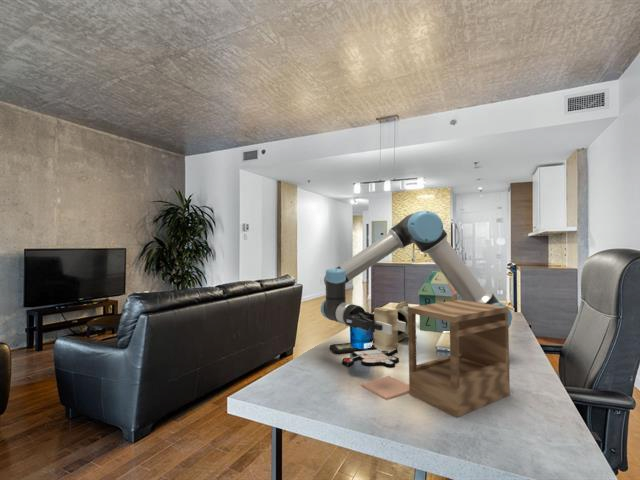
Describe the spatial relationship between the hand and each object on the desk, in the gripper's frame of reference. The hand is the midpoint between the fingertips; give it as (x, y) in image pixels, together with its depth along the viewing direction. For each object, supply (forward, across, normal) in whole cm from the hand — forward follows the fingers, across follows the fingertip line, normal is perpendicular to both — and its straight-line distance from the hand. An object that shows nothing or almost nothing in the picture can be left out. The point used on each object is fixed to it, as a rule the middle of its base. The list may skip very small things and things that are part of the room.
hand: (398, 328), depth 102 cm
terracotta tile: (-5, 0, -19) cm, 20 cm away
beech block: (-5, 0, -7) cm, 9 cm away
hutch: (+10, -14, -19) cm, 26 cm away
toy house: (-45, -72, -19) cm, 87 cm away
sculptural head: (-46, -41, -20) cm, 65 cm away
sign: (-32, -15, -20) cm, 41 cm away
